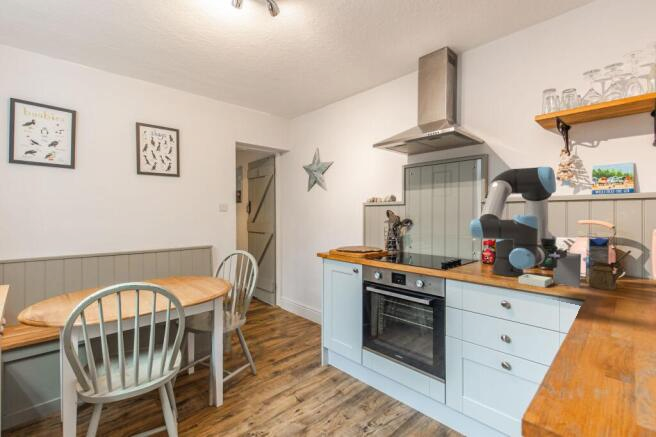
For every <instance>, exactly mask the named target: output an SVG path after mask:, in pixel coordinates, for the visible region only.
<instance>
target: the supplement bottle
mask: <svg viewBox="0 0 656 437" xmlns="http://www.w3.org/2000/svg"><path fill="white" fill-rule="evenodd" d="M554 243H555V239H551V238H541V244H540V245H539V246H542V247H543V248H545V249H547V250H556V249H559V248H558V246H557V245H556V244H555V245H554ZM557 261H558V259H556V258H554V257H551V258H547V260H546V261H545V262H544V263H542V264H539V265H537V266H538V267H540V268H545V269H553V268H557Z"/></svg>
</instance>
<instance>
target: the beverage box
mask: <svg viewBox="0 0 656 437" xmlns="http://www.w3.org/2000/svg"><path fill="white" fill-rule="evenodd" d="M585 248H586V249H585V250H586V251H585V253H586V254H585V256H586V257H585V281H586V282H587V284H588V285H589V284H590V282H591V278H592V272H593V266H594V263H595V262H601V263H609V262H610V261H609V259H610V258H609V257H610V256H609V254H610V252H609V251H610V239H609V238H607V237H600V236H599V237H598V236H597V237H596V236H586V247H585Z"/></svg>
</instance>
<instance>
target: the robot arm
mask: <svg viewBox="0 0 656 437" xmlns="http://www.w3.org/2000/svg"><path fill="white" fill-rule="evenodd" d="M487 191H488V194H487V197H486V200H485V203H484V205H483V209H482V211H481V213H480V217H479V218H475V219H474V218H473V219H472V220H471V221H470V223H469V224H470V226H469V231H470V232H469V233H470V236H471V237H472V238H475V239H476V238H478V239H482V240H484V239H487V240H489V239H490V240H495V260H494V263H493V265H492V268H491V273H492V274H494V275H498V276H503V277H512V278H513V277H514V278H516V277H517V278H519V276H522V275H525V271H524V270H527V269H531V268H533V267H535V266H538V265H539V264H542V263H544V262H545V261H546V260H547V258H551V257H554V258H556V259H560V258H564V257H567V253H568V252H567V250H564V248H561V247H559V248H558V249H556V250H547V249H545V248H543V247H542V246H539V245H540V244H541V238H551V239H555V243H554V245H556V244H557V237H556V236H555V235H553V234H552V232H550V231H549V199H550V198H551V197H552V195H553V194H555V193H556V191H557V183H556V174H555V171H554V168H552V167H551V166H538V167H524V168H523V167H522V168H511V169H507V170H504V171H503V172H500V173H499V174H498V175H496V176H495V177H494V178H493V179H492V180H491V181H490V183H489V185H488V188H487ZM516 194H517V195H521V197H522V198H523V200H525V209H526V210H525V211H526V214H515V215H513V219H502V217H503V214H504V211H505V207H506V204H507V200H508V198H509V197H510V196H511V195H516Z"/></svg>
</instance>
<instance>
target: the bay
mask: <svg viewBox="0 0 656 437" xmlns="http://www.w3.org/2000/svg"><path fill="white" fill-rule="evenodd" d="M581 265H582V254H581V253H576V252H575V253H574V252H567V257H564V258H560V259H558V261H557V268H552V269H553V272H552V273H553V274H552V284H553V283H554V284H553V285H557V284H563V285H569V286H568V287H570V286H573V287H572V288H576V287H578V288H577V289H580V288H581V274H582V273H581V270H582V267H581ZM563 285H562V286H563Z"/></svg>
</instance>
